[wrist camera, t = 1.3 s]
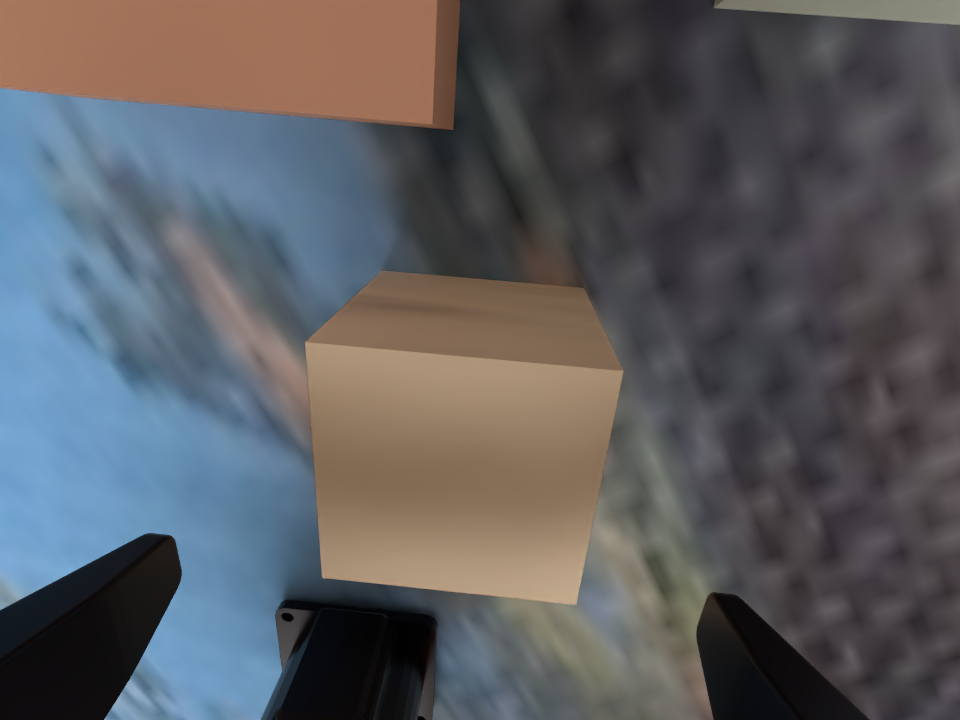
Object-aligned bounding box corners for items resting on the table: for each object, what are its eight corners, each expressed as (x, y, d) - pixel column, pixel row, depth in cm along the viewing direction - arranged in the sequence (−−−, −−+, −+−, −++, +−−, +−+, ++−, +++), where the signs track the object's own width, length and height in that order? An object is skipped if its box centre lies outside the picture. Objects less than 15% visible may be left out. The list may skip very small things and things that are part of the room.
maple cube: (556, 457, 17) (576, 604, 12) (383, 440, 17) (321, 577, 12) (583, 287, 15) (624, 371, 9) (382, 269, 15) (305, 342, 9)
